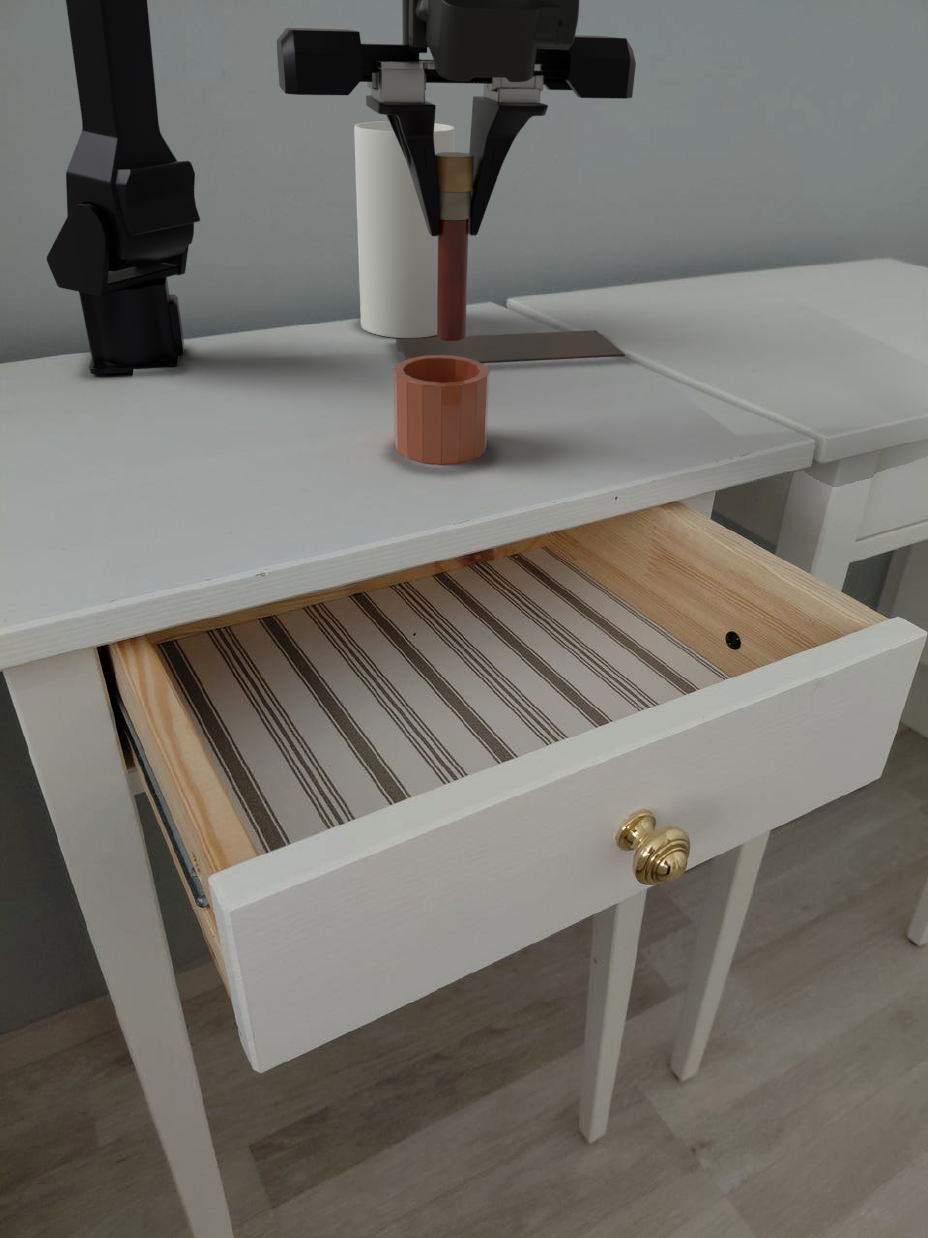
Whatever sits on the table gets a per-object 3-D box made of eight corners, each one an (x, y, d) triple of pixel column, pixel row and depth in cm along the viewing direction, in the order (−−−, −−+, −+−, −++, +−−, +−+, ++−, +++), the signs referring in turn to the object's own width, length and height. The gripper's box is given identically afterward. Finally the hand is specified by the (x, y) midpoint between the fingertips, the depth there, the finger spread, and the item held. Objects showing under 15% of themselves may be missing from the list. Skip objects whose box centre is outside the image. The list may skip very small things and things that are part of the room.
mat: (410, 372, 73) (410, 364, 73) (395, 345, 79) (395, 338, 79) (624, 361, 77) (625, 354, 77) (595, 336, 83) (596, 329, 82)
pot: (404, 474, 57) (403, 387, 54) (389, 438, 62) (387, 356, 59) (495, 467, 58) (499, 382, 55) (473, 433, 63) (476, 352, 60)
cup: (440, 341, 80) (443, 133, 71) (349, 333, 81) (340, 128, 73) (459, 316, 87) (464, 123, 78) (375, 309, 88) (370, 118, 79)
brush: (437, 342, 57) (439, 156, 51) (430, 332, 59) (431, 151, 53) (472, 341, 57) (477, 156, 52) (464, 331, 59) (468, 151, 54)
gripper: (278, -128, 38) (304, 271, 46) (700, -103, 42) (653, 261, 50) (265, -103, 47) (289, 227, 55) (613, -85, 51) (585, 222, 59)
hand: (452, 234), depth 55 cm, fingers closed on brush, 2 cm apart
